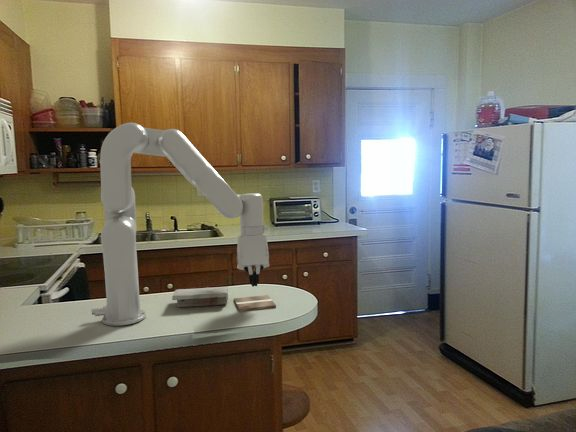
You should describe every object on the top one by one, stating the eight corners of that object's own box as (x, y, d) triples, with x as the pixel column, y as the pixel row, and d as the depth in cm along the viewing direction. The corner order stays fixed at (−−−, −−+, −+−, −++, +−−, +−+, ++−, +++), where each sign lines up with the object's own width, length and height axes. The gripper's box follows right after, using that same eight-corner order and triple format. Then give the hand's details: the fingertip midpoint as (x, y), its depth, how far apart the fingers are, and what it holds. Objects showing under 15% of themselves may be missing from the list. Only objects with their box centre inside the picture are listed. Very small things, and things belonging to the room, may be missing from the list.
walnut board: (239, 311, 141) (239, 308, 141) (233, 300, 153) (233, 298, 153) (276, 307, 144) (275, 305, 144) (267, 297, 156) (267, 294, 156)
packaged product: (228, 306, 146) (228, 299, 155) (227, 292, 145) (227, 286, 155) (172, 310, 143) (175, 302, 153) (171, 295, 143) (175, 288, 153)
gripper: (271, 228, 151) (273, 280, 153) (228, 230, 147) (230, 284, 150) (277, 231, 144) (278, 286, 146) (231, 234, 140) (233, 290, 142)
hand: (254, 285), depth 148 cm, fingers closed
